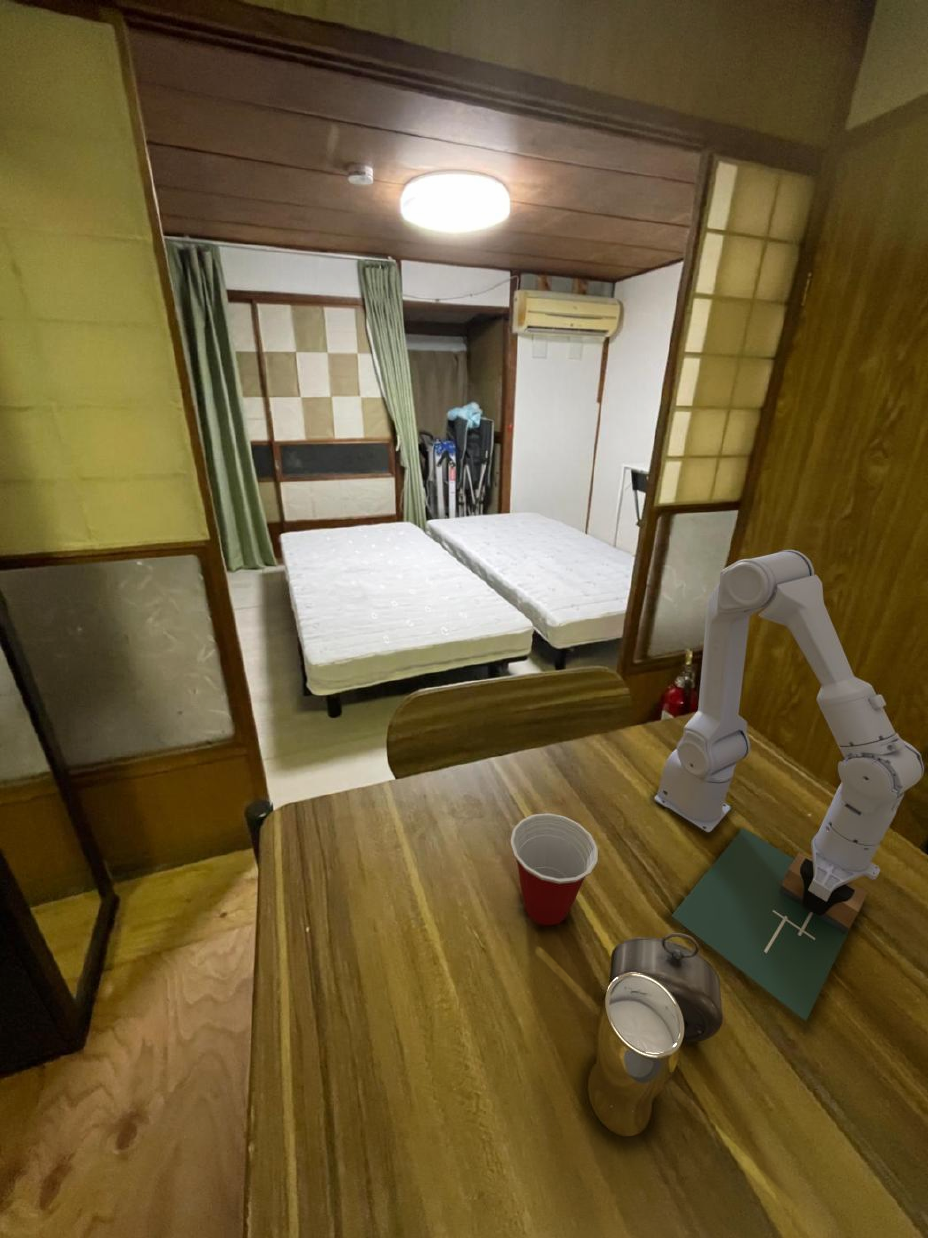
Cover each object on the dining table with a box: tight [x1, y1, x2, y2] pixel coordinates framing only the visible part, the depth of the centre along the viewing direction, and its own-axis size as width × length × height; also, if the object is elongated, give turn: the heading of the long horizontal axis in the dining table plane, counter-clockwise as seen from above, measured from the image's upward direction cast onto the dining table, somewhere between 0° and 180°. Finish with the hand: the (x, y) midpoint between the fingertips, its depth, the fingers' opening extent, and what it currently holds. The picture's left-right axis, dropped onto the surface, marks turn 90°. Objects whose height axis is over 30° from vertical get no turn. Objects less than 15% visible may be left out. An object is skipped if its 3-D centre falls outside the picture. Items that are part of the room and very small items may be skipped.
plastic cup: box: [510, 812, 599, 927], centre depth 66 cm, size 11×11×12 cm
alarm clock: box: [608, 932, 724, 1043], centre depth 53 cm, size 11×5×16 cm, turn 71°
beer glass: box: [587, 972, 684, 1137], centre depth 48 cm, size 7×7×15 cm
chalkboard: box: [671, 827, 850, 1022], centre depth 69 cm, size 16×22×1 cm
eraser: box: [779, 852, 868, 935], centre depth 68 cm, size 8×4×4 cm, turn 41°
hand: (817, 899), depth 69 cm, fingers closed on eraser, 4 cm apart
